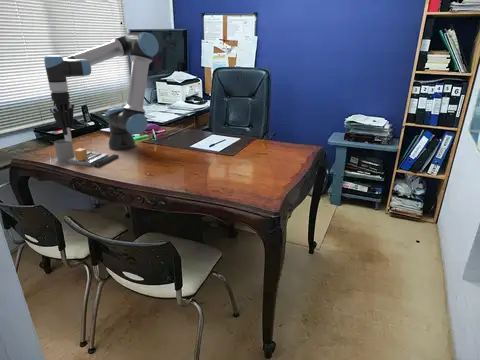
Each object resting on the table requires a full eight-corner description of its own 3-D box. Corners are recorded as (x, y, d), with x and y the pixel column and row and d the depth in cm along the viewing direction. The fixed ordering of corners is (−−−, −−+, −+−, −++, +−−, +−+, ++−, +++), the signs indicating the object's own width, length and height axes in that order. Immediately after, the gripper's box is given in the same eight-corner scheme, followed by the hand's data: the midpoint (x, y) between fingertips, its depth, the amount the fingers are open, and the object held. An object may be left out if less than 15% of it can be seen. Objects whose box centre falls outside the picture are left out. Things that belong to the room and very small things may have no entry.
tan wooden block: (81, 158, 179) (79, 148, 177) (87, 158, 178) (86, 148, 176) (76, 160, 175) (74, 150, 173) (82, 161, 174) (80, 151, 172)
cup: (56, 162, 179) (52, 144, 175) (59, 157, 186) (55, 139, 182) (73, 161, 181) (70, 143, 177) (76, 156, 188) (72, 138, 184)
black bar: (113, 156, 188) (113, 154, 187) (118, 157, 187) (118, 154, 186) (93, 167, 173) (92, 164, 172) (98, 167, 172) (98, 164, 171)
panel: (87, 155, 190) (86, 150, 189) (108, 157, 186) (108, 152, 185) (68, 163, 178) (67, 158, 177) (91, 166, 174) (90, 161, 173)
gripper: (63, 89, 164) (71, 136, 173) (41, 92, 153) (52, 143, 162) (76, 89, 162) (84, 138, 171) (55, 93, 151) (65, 145, 160)
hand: (68, 140), depth 167 cm, fingers closed
